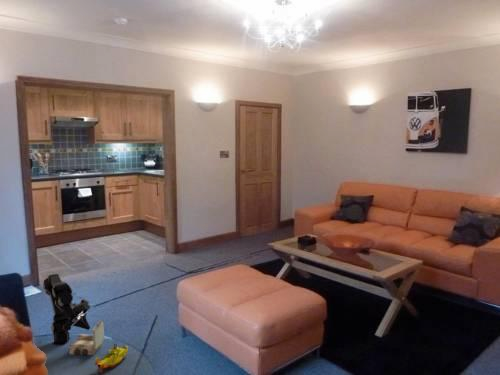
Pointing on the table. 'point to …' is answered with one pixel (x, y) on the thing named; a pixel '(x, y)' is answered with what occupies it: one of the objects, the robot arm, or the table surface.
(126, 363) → the table surface
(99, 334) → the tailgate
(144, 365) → the table surface
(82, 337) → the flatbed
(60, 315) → the robot arm
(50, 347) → the table surface
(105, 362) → the toy boat
